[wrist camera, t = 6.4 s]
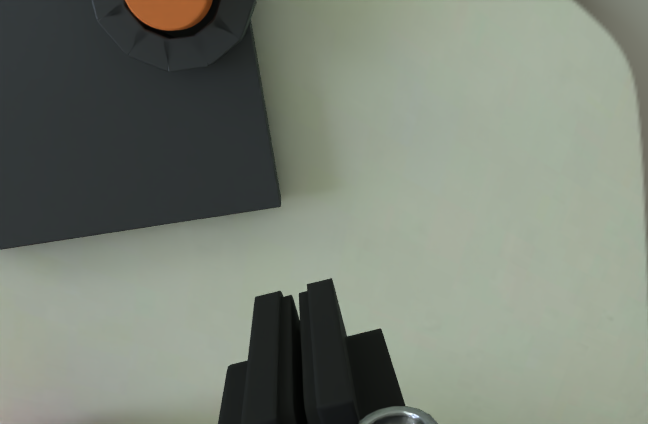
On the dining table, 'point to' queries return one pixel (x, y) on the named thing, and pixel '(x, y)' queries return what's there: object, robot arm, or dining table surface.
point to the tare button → (170, 12)
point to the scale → (127, 120)
